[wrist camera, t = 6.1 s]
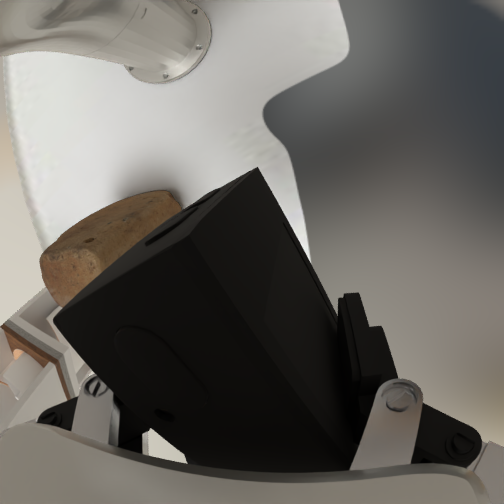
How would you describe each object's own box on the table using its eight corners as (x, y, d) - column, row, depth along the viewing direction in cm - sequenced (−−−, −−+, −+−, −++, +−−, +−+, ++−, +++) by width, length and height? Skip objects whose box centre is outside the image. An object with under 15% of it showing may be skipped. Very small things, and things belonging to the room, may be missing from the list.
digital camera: (144, 230, 12) (27, 329, 6) (256, 163, 10) (178, 232, 4) (264, 393, 15) (241, 509, 8) (360, 364, 13) (375, 495, 7)
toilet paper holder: (130, 328, 50) (29, 481, 19) (84, 308, 50) (-24, 436, 19) (131, 278, 45) (-7, 448, 14) (81, 258, 46) (-61, 391, 14)
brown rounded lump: (183, 186, 38) (93, 245, 20) (192, 238, 41) (120, 327, 23) (117, 194, 40) (17, 249, 22) (127, 241, 43) (42, 315, 25)
